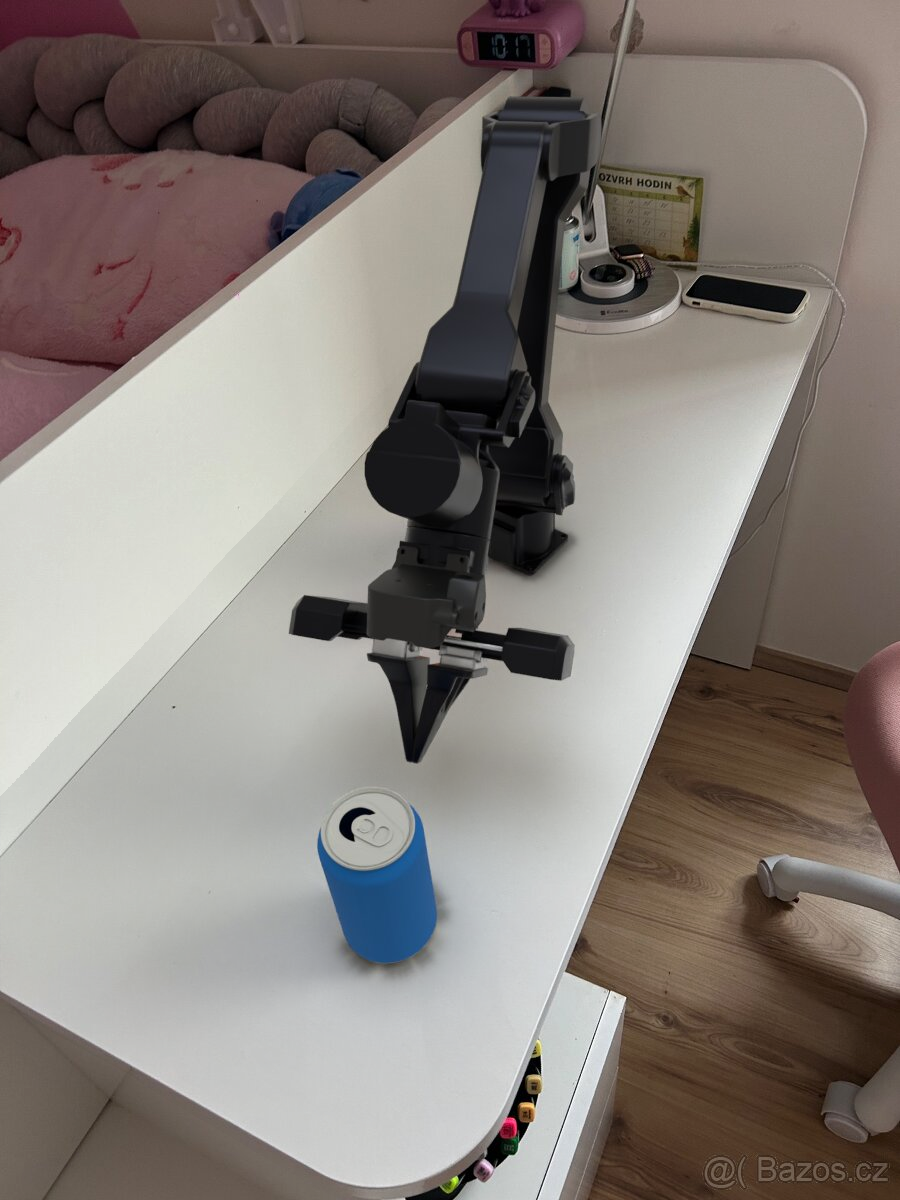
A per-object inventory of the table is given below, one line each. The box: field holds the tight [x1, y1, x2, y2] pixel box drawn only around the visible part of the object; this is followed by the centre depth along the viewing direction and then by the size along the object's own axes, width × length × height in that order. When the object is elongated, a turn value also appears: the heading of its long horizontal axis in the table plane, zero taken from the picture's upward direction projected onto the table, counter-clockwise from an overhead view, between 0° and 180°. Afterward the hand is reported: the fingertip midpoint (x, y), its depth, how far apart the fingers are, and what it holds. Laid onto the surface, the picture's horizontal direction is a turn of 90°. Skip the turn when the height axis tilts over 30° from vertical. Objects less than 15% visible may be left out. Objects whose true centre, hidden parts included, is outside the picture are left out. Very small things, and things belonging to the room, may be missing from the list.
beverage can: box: [316, 786, 438, 964], centre depth 59 cm, size 6×6×12 cm
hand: (413, 762), depth 63 cm, fingers closed
